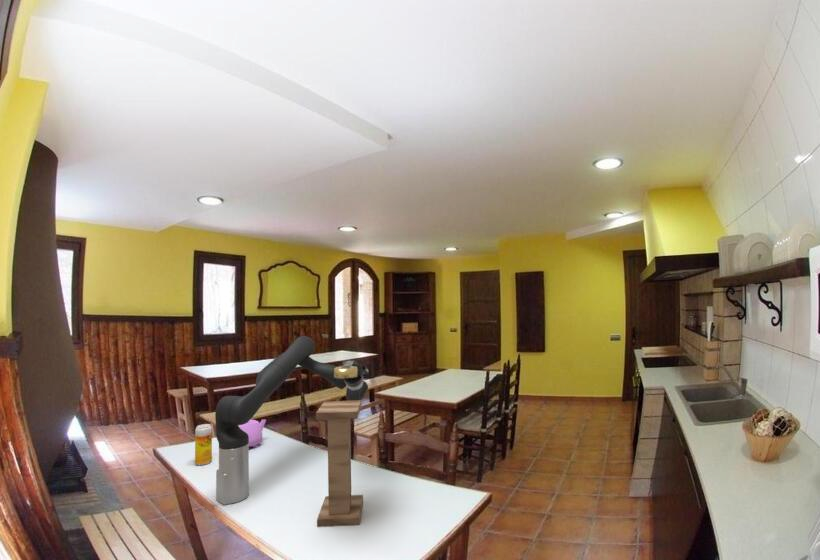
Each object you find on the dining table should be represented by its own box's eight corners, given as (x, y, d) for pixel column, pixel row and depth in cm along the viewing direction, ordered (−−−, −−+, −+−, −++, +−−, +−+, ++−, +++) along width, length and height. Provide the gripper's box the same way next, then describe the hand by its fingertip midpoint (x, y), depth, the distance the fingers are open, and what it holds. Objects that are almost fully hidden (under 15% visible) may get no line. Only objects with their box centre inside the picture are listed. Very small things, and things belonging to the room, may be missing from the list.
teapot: (230, 456, 172) (230, 426, 173) (217, 450, 180) (217, 421, 180) (273, 443, 187) (272, 415, 188) (258, 438, 195) (258, 411, 196)
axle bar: (340, 368, 158) (340, 361, 158) (361, 368, 158) (361, 360, 158) (332, 378, 137) (332, 370, 137) (356, 378, 137) (356, 369, 137)
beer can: (204, 466, 162) (205, 428, 163) (191, 465, 163) (191, 427, 164) (215, 460, 168) (215, 423, 169) (202, 459, 169) (202, 423, 170)
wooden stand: (325, 502, 129) (324, 401, 131) (363, 501, 130) (361, 400, 132) (317, 526, 115) (315, 413, 117) (359, 524, 116) (357, 411, 118)
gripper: (337, 370, 169) (331, 354, 154) (370, 369, 169) (368, 353, 155) (336, 388, 165) (330, 372, 150) (370, 386, 165) (367, 371, 151)
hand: (349, 362), depth 153 cm, fingers closed on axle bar, 3 cm apart
